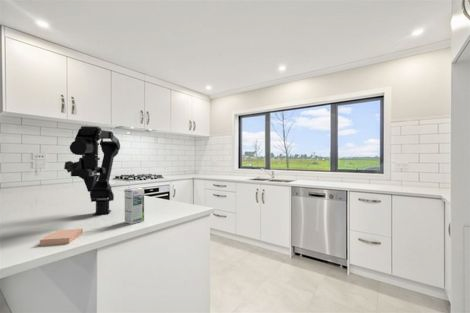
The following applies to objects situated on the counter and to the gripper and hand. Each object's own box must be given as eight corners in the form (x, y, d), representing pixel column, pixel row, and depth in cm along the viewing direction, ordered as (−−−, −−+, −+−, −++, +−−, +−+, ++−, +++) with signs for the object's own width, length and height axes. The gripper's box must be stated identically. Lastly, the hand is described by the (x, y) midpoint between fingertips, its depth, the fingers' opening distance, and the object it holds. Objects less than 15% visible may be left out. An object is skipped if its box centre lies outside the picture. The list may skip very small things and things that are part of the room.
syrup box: (132, 224, 87) (132, 189, 87) (123, 222, 90) (124, 188, 90) (144, 221, 92) (144, 187, 92) (136, 218, 95) (136, 186, 95)
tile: (57, 230, 75) (39, 239, 66) (82, 228, 77) (69, 237, 68) (57, 236, 75) (39, 247, 66) (82, 234, 77) (69, 245, 68)
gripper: (79, 155, 98) (79, 188, 98) (55, 154, 80) (54, 196, 80) (106, 155, 100) (105, 188, 100) (88, 155, 82) (87, 195, 82)
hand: (89, 191), depth 91 cm, fingers closed
